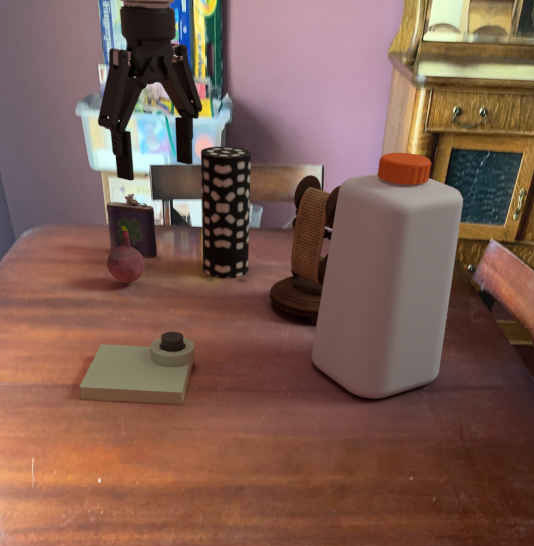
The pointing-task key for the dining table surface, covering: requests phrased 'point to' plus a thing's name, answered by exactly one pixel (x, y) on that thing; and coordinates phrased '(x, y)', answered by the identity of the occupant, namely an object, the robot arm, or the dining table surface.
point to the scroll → (307, 250)
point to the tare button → (172, 341)
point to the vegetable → (126, 261)
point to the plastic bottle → (388, 279)
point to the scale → (139, 374)
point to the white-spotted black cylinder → (225, 210)
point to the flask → (132, 225)
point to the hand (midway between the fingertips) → (156, 170)
